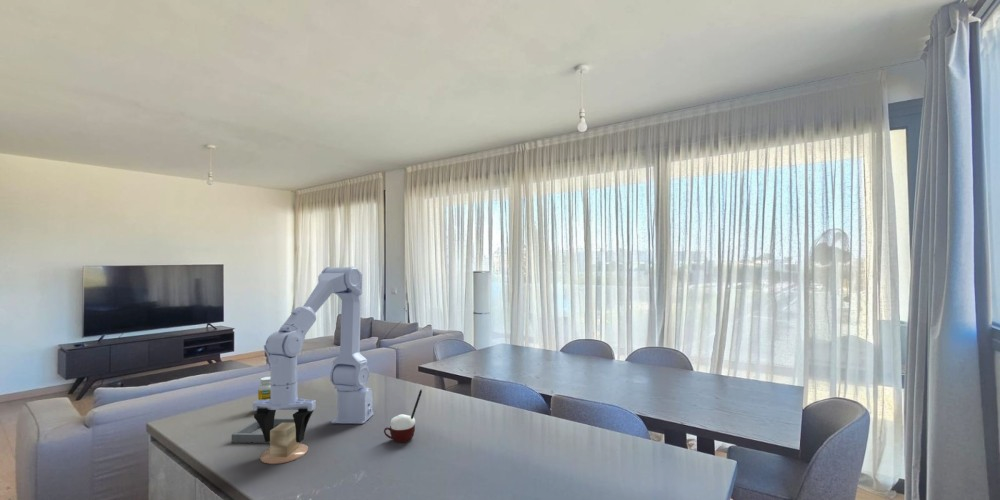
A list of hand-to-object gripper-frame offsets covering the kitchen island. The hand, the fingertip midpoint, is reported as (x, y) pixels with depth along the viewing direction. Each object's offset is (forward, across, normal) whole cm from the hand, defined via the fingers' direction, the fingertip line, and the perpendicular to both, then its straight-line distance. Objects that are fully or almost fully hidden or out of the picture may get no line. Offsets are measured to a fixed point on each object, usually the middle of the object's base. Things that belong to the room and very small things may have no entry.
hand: (284, 440), depth 102 cm
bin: (+3, -11, +12) cm, 17 cm away
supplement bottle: (+3, -24, +31) cm, 39 cm away
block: (+3, 0, 0) cm, 3 cm away
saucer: (+3, 0, 0) cm, 3 cm away
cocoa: (+3, +26, +9) cm, 28 cm away
